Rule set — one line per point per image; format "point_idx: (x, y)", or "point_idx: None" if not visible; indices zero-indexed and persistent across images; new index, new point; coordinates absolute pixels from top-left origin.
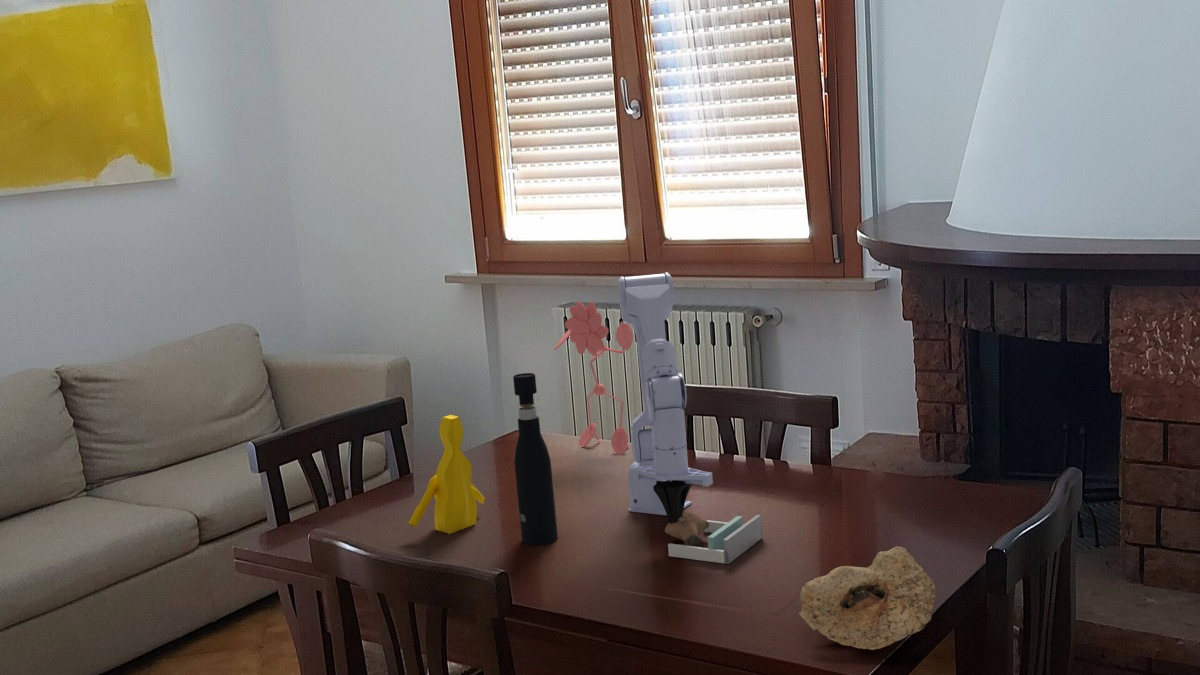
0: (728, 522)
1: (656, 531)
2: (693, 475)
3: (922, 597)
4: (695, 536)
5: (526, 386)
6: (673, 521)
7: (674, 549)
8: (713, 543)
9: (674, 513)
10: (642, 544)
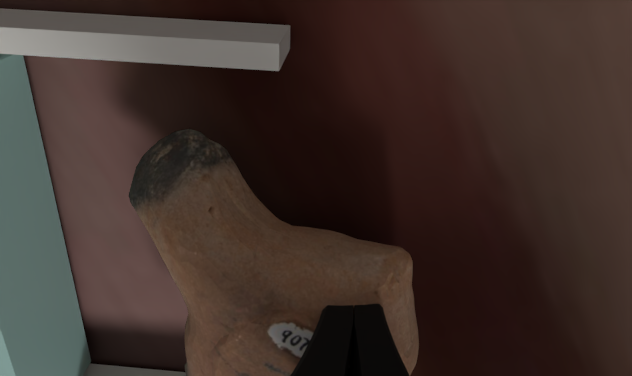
0: (10, 365)
1: (530, 358)
2: None
3: None
4: (144, 196)
5: None
6: (342, 310)
7: (233, 35)
8: None
9: (315, 348)
10: (549, 182)
